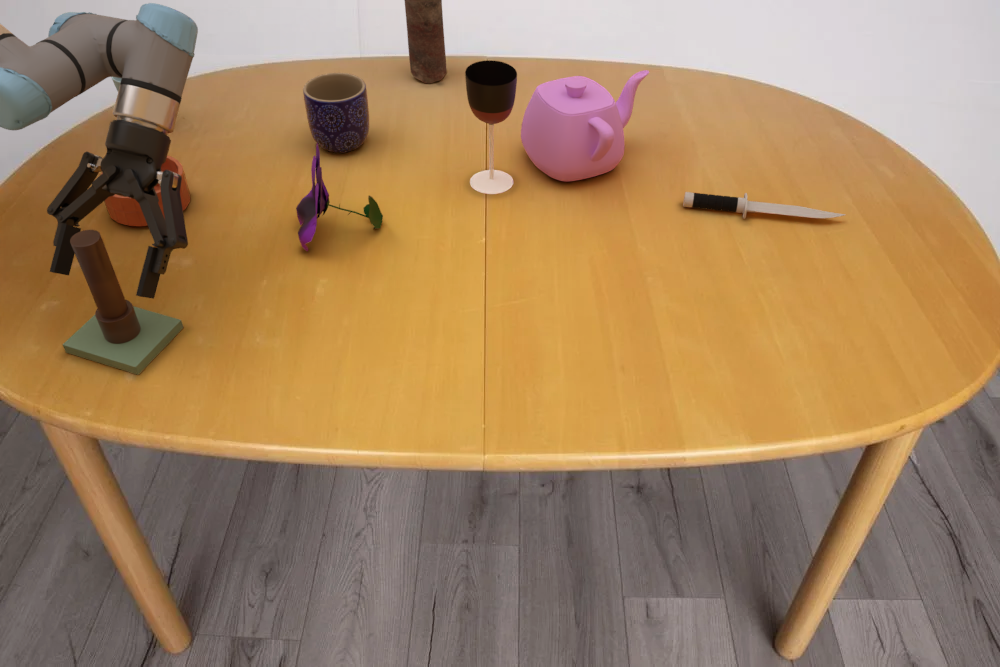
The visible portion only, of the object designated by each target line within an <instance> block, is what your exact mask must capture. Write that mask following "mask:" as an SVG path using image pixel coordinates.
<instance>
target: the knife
mask: <svg viewBox="0 0 1000 667" xmlns="http://www.w3.org/2000/svg"><path fill="white" fill-rule="evenodd" d="M682 207H683V208H693V209H702V210H711V211H719V212H720V211H721V212H730V213H739V214H742V219H744V220H745V219H746V217H747V213H764V214H772V215H781V216H789V217H790V216H791V217H800V218H801V217H802V218H808V219H809V218H811V219H833V218H839V217H844V216H846V214H845V213H838V212H833V211H832V212H831V211H826V210H820V209H816V208H811V207H806V206H801V205H795V204H794V205H793V204H785V203H784V204H783V203H775V202H764V201H756V200H755V201H754V200H748V193H747V192H744V194H743V197H739V196H729V195H721V194H708V193H700V192H691V191H685V192H684V196H683V204H682Z"/></svg>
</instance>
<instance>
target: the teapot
mask: <svg viewBox="0 0 1000 667" xmlns="http://www.w3.org/2000/svg"><path fill="white" fill-rule="evenodd" d="M649 74H650V71H649V70H648V69H647V70H644V69H643V70H640V71H637V72H635V73H634V74H632V75H631V76H630V77H629V78H628V79H627V81H626V83H625V84H624V86H623V87H622V91H621V93H620V94H619V96H618V99H616V101H615V98H614V97H613V96H612V94H611V93H610V92H609V90H608V89H607V88H606V87H604V86H603V85H601V84H600V83H599V82H598V81H595V80H593V79H592V78H589V77H587V76H582V75H574V76H567V77H561V78H557V79H554V80H549V81H546V82H543V83H540V84H538V85H537V86H536V88H535V89H534V91H533V93H532V95H531V97H530V99H529V101H528V103H527V105H526V108H525V110H524V113H523V117H522V122H521V127H520V140H521V144H522V148H523V149H524V151H525V153H526V155H527V156H528V158H529V160H530V161H531V162H532V163H533V165H534V166H535V167H536V168H537V169H538V170H540V171H541V172H542V173H544V174H545V175H547V176H548V177H550V178H552V179H554V180H557V181H560V182H575V181H580V180H586V179H589V178H593V177H596V176H597V177H598V176H600V175H603V174H606V173H609V172H611V171H613V170H614V169H615V168H616V167H617V166H618V165H619V163H620V162H621V161H622V159H623V157H624V154H625V132H624V128H626V126H627V124H628V123H629V122H630V119H631V118H632V114H633V109H634V102H635V97H636V93H637V90H638V87H639V85H640V84H641V82H642V81H643V80H645V78H646V77H648V75H649Z"/></svg>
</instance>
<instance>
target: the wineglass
mask: <svg viewBox="0 0 1000 667" xmlns="http://www.w3.org/2000/svg"><path fill="white" fill-rule="evenodd" d="M464 76H465V88H466V96H467V97H466V98H467V102H468V106H469V109H470V110H471V113H472V114H473V116H475V118H476V119H478V120H479V121H481V122H483V123H484V124H488V142H489V143H488V165H489V166H488V168H489V169H485V170H484V169H483V170H480V171H478V172H476V173H474V174H473V175H472V176H471V177H470V179H469V185H470V187H471V188H472V189H473V190H475V191H477V192H478V193H481V194H486V195H497V194H502V193H505V192H507V191H508V190H510V189H511V188H512V187H513V185H514V179H513V176H512V175H510V174H509V173H507V172H505V171H503V170H498V169H495V154H494V153H495V139H494V138H495V135H494V132H495V131H494V130H495V128H494V127H495V126H494V125H497V124H500V123H502V122H504V121H505V120H507V119H508V118H509V116H510V115H511V113H512V111H513V108H514V105H515V100H516V95H517V94H516V93H517V83H518V82H517V81H518V72H517V70H516V68H514V67H513V65H510V64H508V63H507V62H504V61H499V60H490V59H489V60H480V61H475V62H473V63H471V64H470V65H468V66H467V67H466V68H465V70H464Z"/></svg>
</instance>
